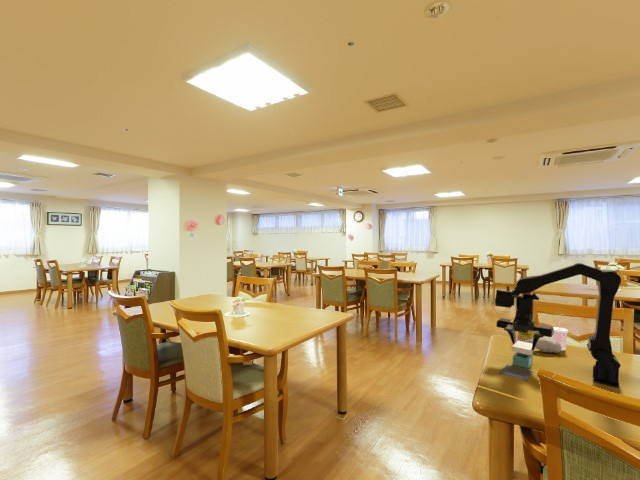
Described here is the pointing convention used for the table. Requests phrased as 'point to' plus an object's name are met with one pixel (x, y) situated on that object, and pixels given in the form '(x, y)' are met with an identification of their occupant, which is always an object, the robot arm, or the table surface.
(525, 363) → the teal open box
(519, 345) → the lid
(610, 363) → the robot arm
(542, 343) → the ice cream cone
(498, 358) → the table surface
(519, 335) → the supplement bottle
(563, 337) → the beverage cup
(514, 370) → the mat
